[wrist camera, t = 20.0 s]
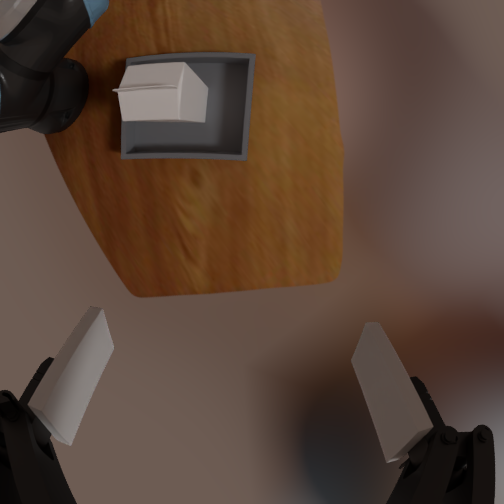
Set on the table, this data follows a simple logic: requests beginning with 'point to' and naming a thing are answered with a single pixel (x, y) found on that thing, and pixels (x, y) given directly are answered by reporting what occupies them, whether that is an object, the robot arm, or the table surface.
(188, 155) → the bin
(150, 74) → the milk
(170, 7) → the table surface
